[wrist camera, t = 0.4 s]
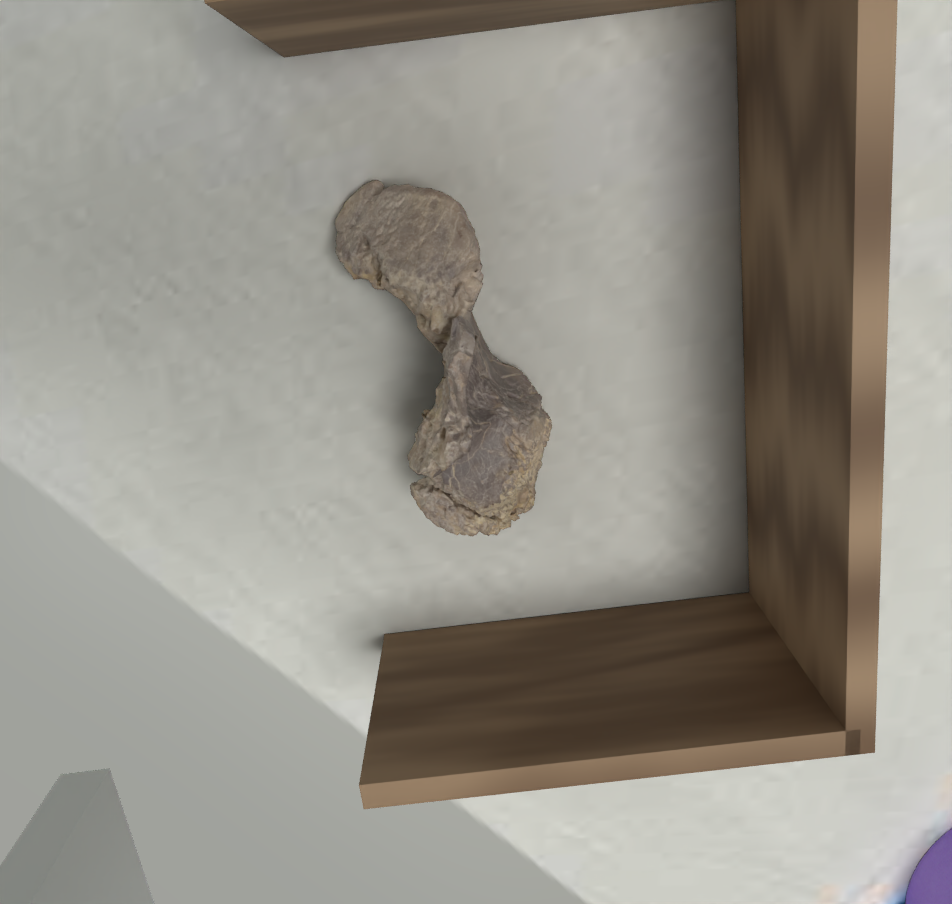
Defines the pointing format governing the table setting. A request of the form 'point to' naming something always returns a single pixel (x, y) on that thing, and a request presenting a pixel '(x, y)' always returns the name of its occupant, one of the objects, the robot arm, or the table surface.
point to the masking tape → (933, 875)
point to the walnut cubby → (767, 453)
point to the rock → (450, 358)
